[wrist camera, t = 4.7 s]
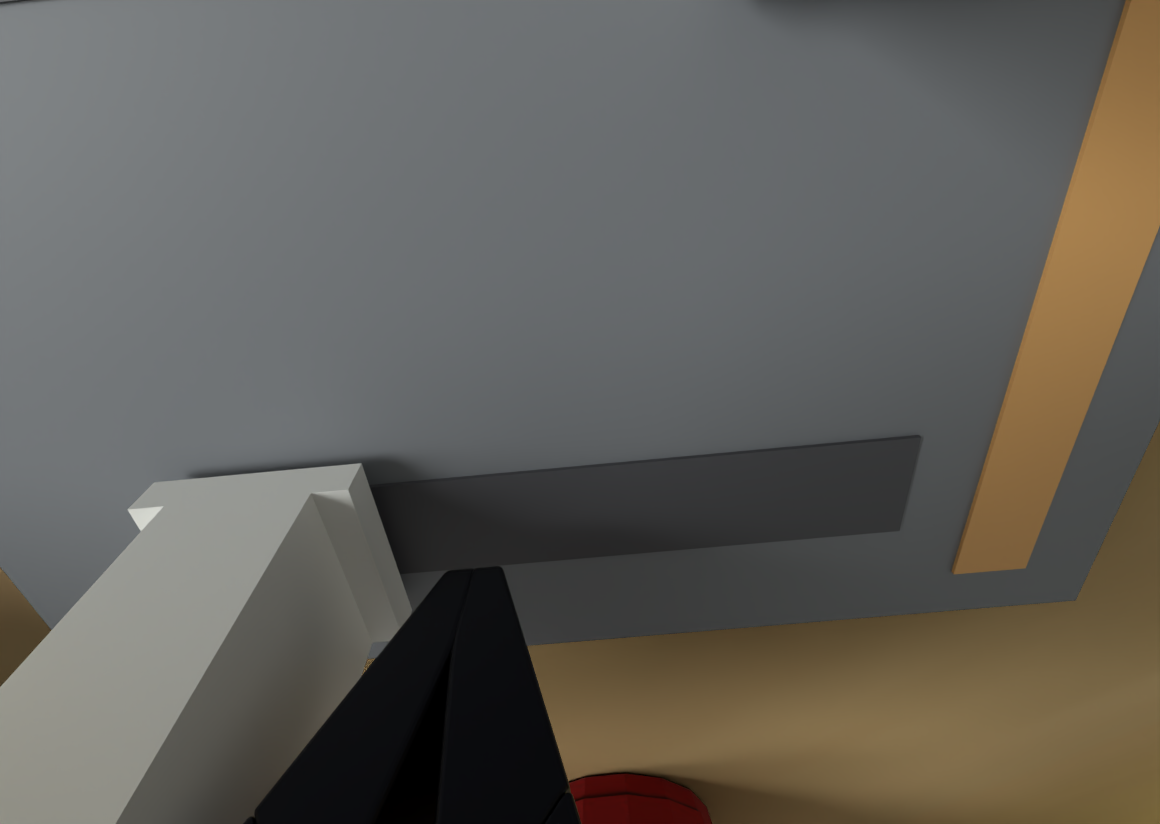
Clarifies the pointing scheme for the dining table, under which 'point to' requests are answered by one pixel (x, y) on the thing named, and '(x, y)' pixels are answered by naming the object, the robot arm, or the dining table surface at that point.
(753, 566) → the breaker panel
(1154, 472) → the dining table surface
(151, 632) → the block
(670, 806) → the plastic cup
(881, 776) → the dining table surface
